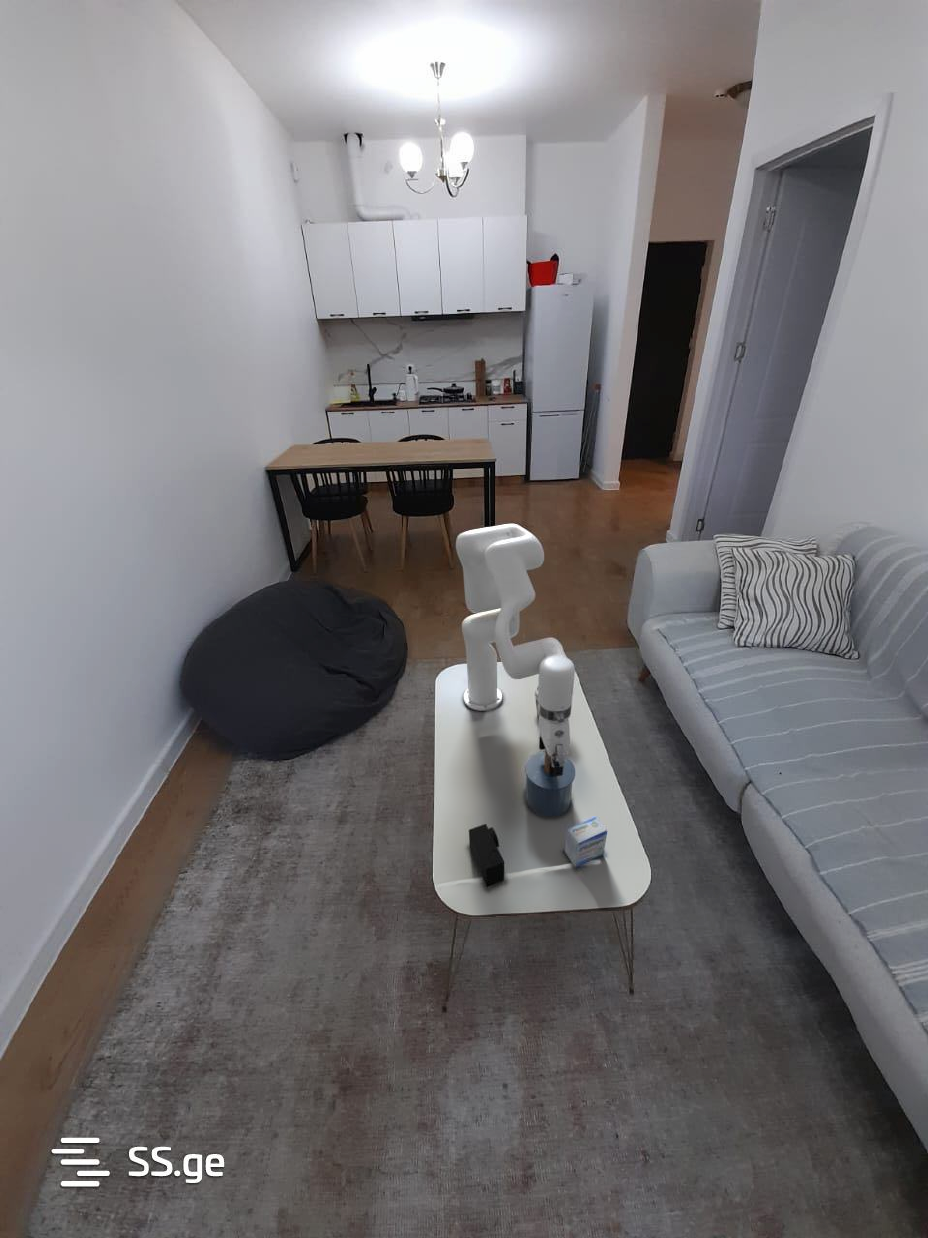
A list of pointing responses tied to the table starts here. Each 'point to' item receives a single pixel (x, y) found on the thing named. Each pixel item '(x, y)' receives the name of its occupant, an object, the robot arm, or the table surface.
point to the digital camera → (487, 854)
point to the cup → (548, 799)
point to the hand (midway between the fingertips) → (550, 761)
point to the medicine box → (585, 841)
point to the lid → (540, 772)
